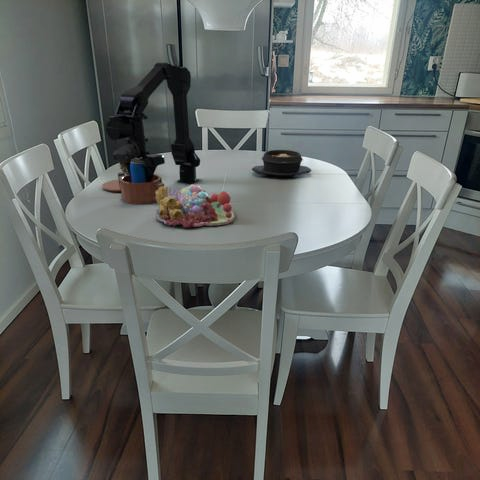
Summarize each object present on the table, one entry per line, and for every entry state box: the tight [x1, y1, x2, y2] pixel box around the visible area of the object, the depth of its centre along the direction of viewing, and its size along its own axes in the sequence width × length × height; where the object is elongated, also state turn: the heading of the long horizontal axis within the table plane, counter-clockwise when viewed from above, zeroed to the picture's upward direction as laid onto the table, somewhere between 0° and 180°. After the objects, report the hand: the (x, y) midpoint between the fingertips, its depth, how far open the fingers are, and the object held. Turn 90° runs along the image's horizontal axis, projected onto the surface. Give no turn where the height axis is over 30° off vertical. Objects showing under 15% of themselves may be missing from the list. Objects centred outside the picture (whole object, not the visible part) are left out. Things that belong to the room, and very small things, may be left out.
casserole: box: [251, 149, 313, 178], centre depth 188 cm, size 25×19×8 cm
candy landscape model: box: [155, 183, 235, 229], centre depth 141 cm, size 25×24×9 cm
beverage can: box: [130, 160, 147, 183], centre depth 157 cm, size 6×6×12 cm
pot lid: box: [101, 171, 126, 193], centre depth 170 cm, size 15×15×5 cm
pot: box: [117, 173, 165, 205], centre depth 158 cm, size 14×19×7 cm
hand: (141, 183), depth 157 cm, fingers closed on beverage can, 6 cm apart
